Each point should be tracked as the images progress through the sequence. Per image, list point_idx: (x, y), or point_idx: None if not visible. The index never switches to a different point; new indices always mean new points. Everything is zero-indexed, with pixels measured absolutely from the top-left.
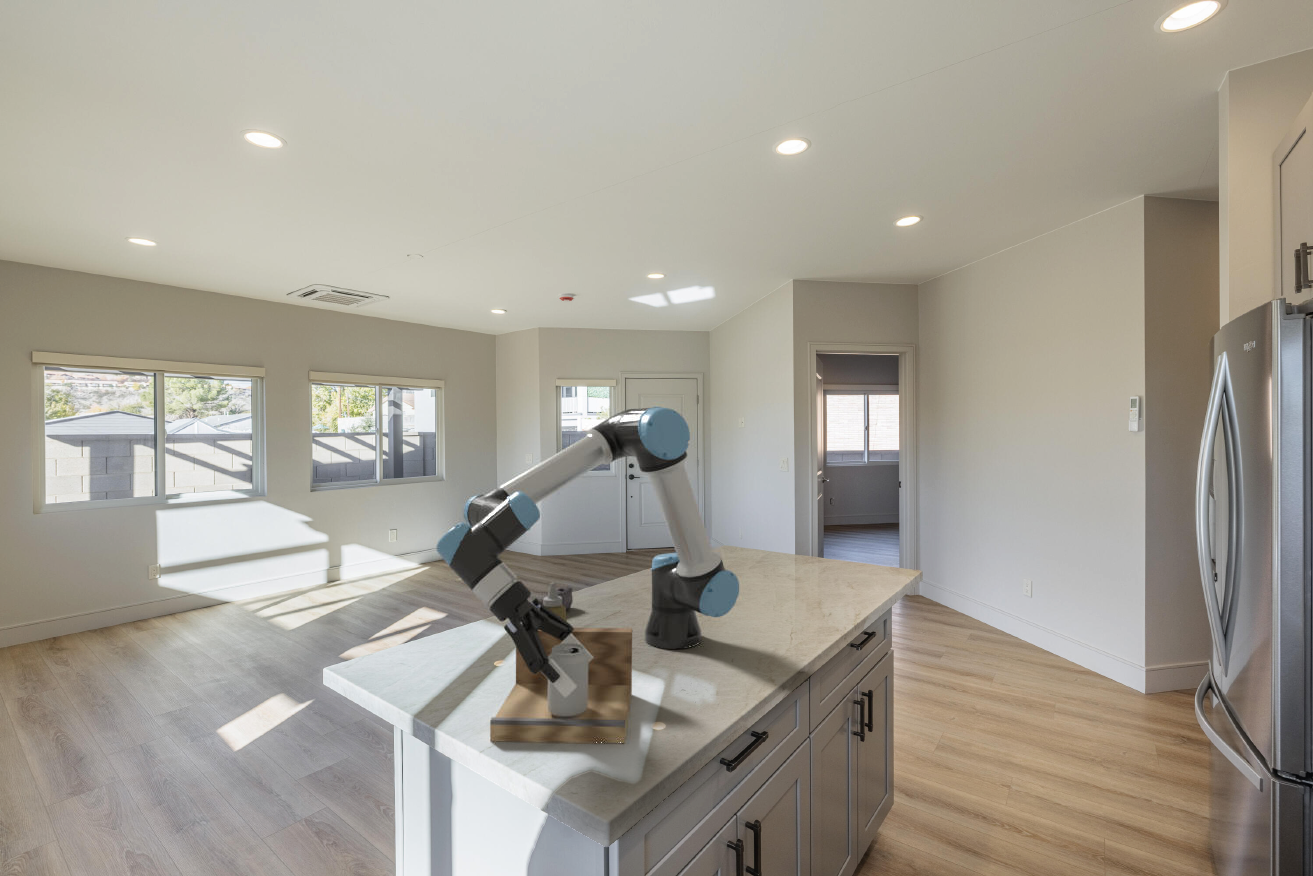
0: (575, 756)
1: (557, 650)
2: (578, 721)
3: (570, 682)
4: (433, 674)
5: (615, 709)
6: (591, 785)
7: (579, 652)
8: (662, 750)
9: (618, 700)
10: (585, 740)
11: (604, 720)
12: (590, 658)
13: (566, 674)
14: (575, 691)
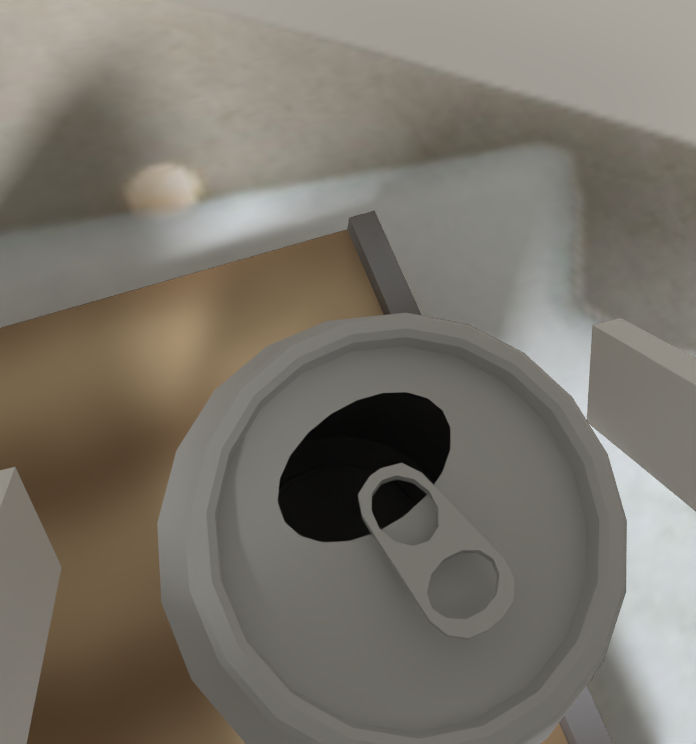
0: None
1: (457, 672)
2: None
3: (659, 343)
4: None
5: (220, 325)
6: (652, 265)
7: (465, 329)
8: (346, 128)
9: (109, 352)
10: None
11: (396, 301)
12: (17, 490)
13: (678, 373)
14: (448, 430)
